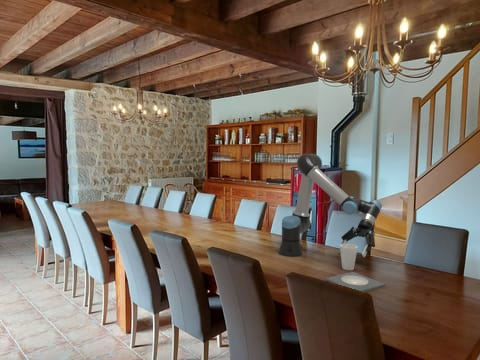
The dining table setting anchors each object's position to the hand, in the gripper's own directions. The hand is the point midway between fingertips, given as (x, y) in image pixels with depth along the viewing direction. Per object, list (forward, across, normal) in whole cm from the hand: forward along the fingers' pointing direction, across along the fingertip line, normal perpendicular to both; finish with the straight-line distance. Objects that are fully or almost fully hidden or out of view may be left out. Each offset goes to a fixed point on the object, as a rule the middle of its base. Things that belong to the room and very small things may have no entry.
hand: (352, 253), depth 196 cm
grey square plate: (+20, -13, +7) cm, 25 cm away
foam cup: (+8, +1, -5) cm, 9 cm away
